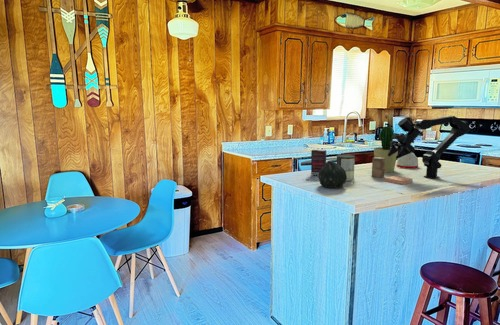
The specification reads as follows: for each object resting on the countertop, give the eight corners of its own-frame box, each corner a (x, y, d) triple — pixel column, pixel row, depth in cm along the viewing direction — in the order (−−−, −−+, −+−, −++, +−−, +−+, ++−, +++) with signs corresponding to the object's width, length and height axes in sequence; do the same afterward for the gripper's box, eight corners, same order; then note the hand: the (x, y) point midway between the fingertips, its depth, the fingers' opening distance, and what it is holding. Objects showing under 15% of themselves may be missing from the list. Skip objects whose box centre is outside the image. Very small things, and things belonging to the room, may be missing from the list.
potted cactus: (400, 170, 230) (403, 125, 225) (392, 173, 219) (395, 126, 214) (377, 167, 240) (380, 124, 235) (368, 170, 229) (371, 125, 224)
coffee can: (332, 179, 203) (333, 155, 201) (341, 176, 210) (342, 154, 208) (348, 182, 196) (349, 157, 194) (357, 179, 203) (358, 155, 201)
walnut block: (376, 177, 207) (377, 157, 205) (384, 178, 203) (385, 158, 201) (371, 178, 205) (372, 157, 203) (378, 180, 200) (379, 158, 198)
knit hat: (399, 168, 237) (400, 146, 235) (394, 165, 251) (395, 144, 248) (420, 168, 235) (422, 147, 232) (414, 165, 248) (416, 144, 246)
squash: (350, 174, 189) (332, 154, 189) (352, 181, 175) (333, 159, 175) (330, 190, 193) (312, 170, 193) (330, 198, 179) (311, 176, 179)
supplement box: (326, 175, 216) (326, 150, 214) (324, 176, 212) (325, 150, 209) (312, 174, 220) (313, 149, 217) (310, 175, 215) (311, 150, 213)
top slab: (396, 178, 197) (396, 175, 197) (412, 182, 189) (412, 178, 188) (385, 181, 191) (385, 177, 191) (401, 184, 183) (401, 180, 183)
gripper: (392, 127, 208) (375, 146, 209) (410, 128, 190) (390, 150, 191) (405, 138, 210) (387, 158, 211) (423, 142, 192) (404, 163, 193)
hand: (392, 157), depth 201 cm, fingers open, 9 cm apart
